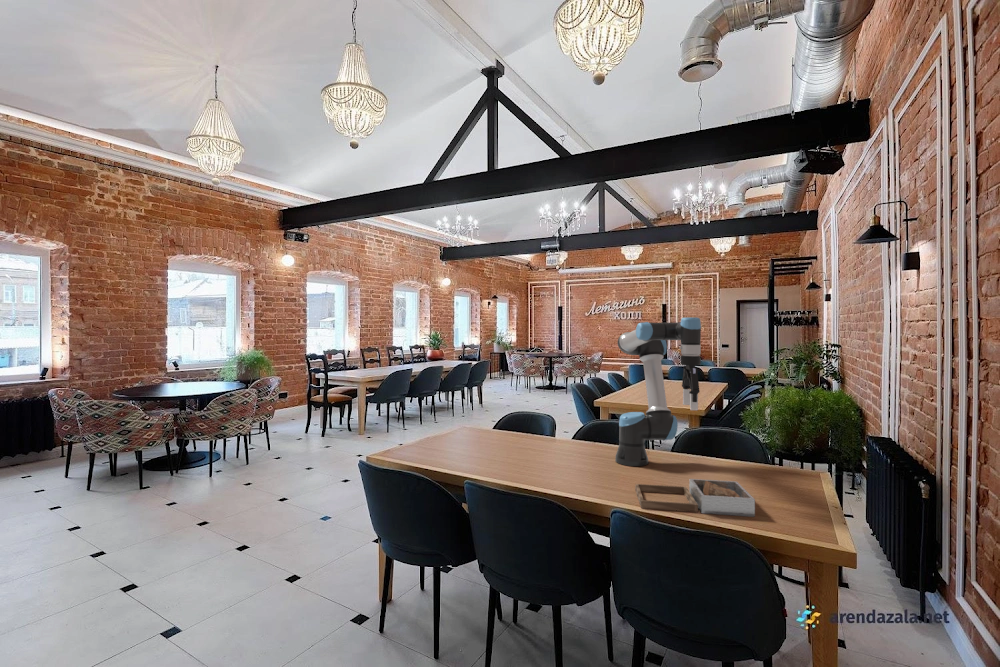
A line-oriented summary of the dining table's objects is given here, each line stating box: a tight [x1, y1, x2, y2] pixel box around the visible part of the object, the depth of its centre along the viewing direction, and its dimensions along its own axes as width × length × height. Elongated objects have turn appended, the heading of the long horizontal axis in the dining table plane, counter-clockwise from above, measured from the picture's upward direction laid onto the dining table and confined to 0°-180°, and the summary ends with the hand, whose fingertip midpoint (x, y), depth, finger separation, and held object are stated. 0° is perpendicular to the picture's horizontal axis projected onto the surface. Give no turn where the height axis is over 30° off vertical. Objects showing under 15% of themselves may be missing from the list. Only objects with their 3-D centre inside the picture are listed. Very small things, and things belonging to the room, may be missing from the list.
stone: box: [703, 481, 740, 497], centre depth 170 cm, size 10×11×10 cm
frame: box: [635, 483, 699, 513], centre depth 174 cm, size 19×19×2 cm
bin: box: [688, 478, 756, 518], centre depth 170 cm, size 19×17×6 cm
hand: (690, 407), depth 191 cm, fingers open, 13 cm apart
